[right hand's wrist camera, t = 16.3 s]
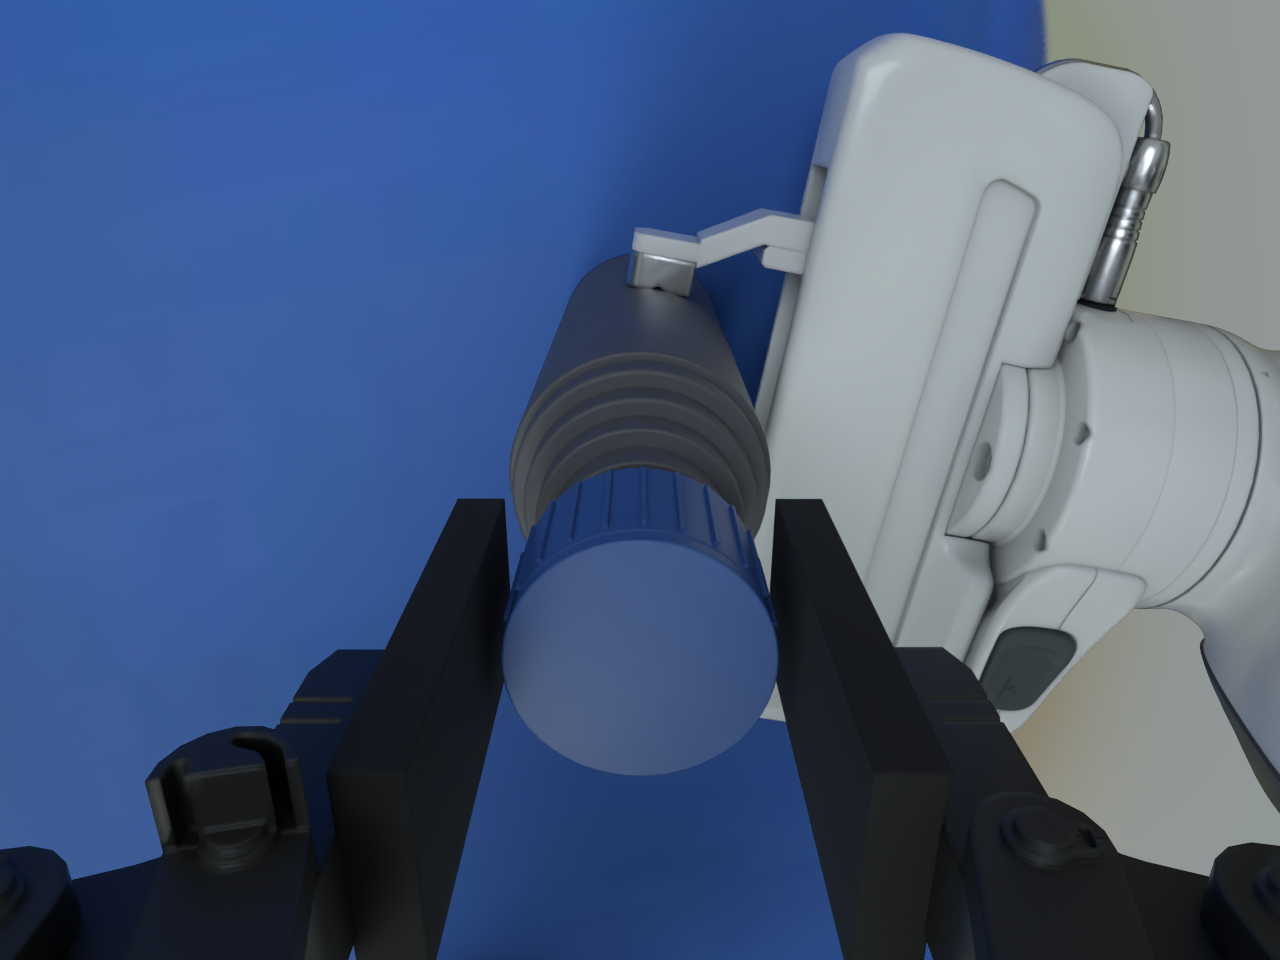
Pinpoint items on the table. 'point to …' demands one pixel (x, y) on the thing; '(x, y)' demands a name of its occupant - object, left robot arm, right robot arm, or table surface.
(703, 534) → the cap
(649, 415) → the bottle
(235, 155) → the table surface
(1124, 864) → the right robot arm
